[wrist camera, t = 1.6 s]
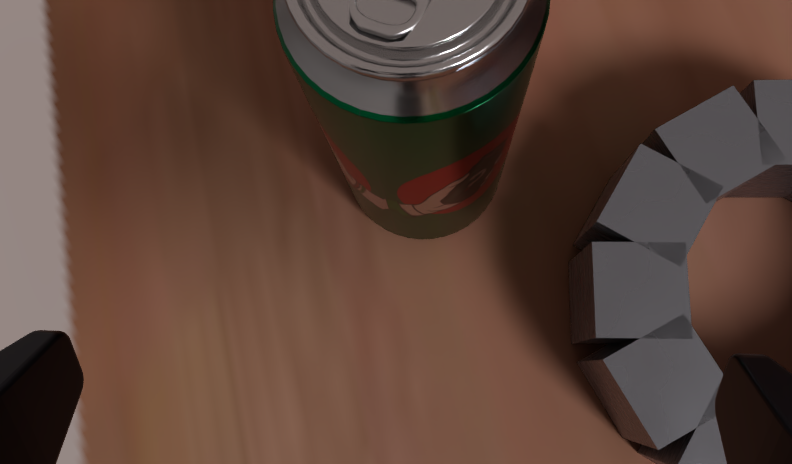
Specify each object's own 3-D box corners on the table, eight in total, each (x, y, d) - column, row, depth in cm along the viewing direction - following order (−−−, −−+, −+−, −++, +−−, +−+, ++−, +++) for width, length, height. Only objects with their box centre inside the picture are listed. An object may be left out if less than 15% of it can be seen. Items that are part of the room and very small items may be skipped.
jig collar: (868, 591, 19) (960, 637, 16) (501, 371, 21) (513, 370, 18) (1027, 238, 21) (1140, 211, 18) (674, 64, 23) (714, 10, 20)
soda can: (519, 126, 23) (601, -132, 11) (469, 264, 22) (502, 140, 10) (381, 81, 24) (323, -206, 12) (327, 213, 23) (209, 42, 11)
